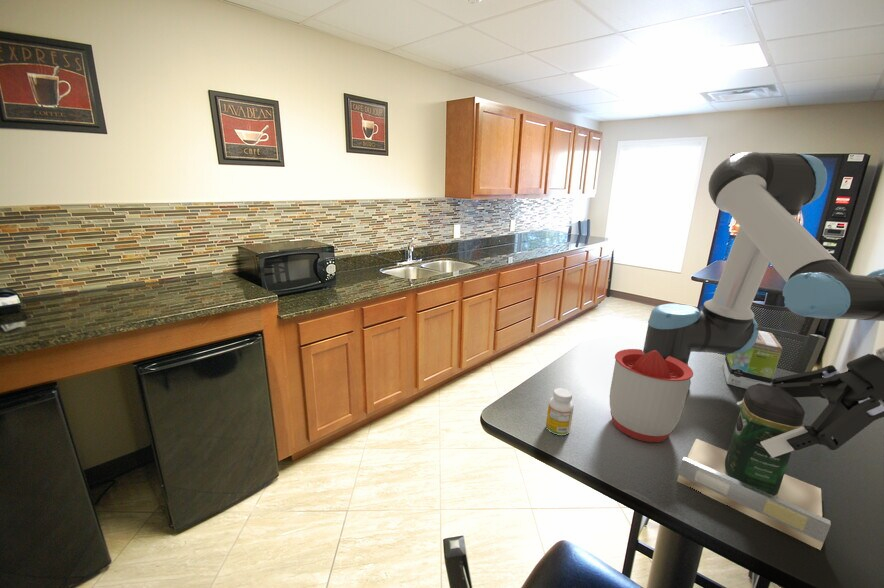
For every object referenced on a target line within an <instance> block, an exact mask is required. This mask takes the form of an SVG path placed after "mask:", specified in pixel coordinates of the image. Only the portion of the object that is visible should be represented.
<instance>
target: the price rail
mask: <svg viewBox="0 0 884 588" xmlns="http://www.w3.org/2000/svg"><path fill="white" fill-rule="evenodd" d="M679 475H680V476H682V477H684V478H686V479H689V480H691V481H693V482H695V483H697V484H699V485H701V486H703V487H706V488H708V489H710V490H712V491H714V492H716V493H718V494H720V495H723V496H725V497H727V498H729V499H731V500H733V501H735V502H738V503H740V504H742V505H744V506H746V507H748V508H750V509H752V510H755V511H757V512H759V513H761V514H763V515H765V516H767V517H769V518H772V519H774V520H776V521H778V522H780V523H782V524H784V525H787V526H789V527H791V528H793V529H795V530H797V531H799V532H801V533H804V534H806V535H808V536H810V537H812V538H814V539H816V540H818V541H821V542H823V544H824V543H825V540H826V538H827V536H828V533H829V531H830V528H831V526H832V525H831V520H830V519H828V518H825V517H823V516H822V517H821V516H819V515H816V514H814V513H812V512H810V511H807V510H805V509H803V508H800V507H798V506H796V505H794V504H791V503H789V502H787V501H784V500H782V499H780V498H778V497H775V496H773V495H771V494H768V493H766V492H764V491H762V490H759V489H757V488H755V487H752V486H750V485H748V484H746V483H743V482H741V481H739V480H736V479H734V478H732V477H730V476H727V475H725V474H723V473H720V472H718V471H716V470H714V469H711V468H709V467H707V466H704V465H702V464H700V463H698V462H695V461H693V460H691V459H688V458H687V457H686V456H683V458H682V460H681V464H680V468H679V473H678V476H679Z"/></svg>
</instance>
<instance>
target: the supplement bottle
mask: <svg viewBox="0 0 884 588" xmlns="http://www.w3.org/2000/svg"><path fill="white" fill-rule="evenodd" d="M572 399H573V393H572V391H570V389H569V390H568V389H567V388H562V387H559V388H558V387H557V388H555V389H554V390H553V394H552V397H550V399H549V401H548V407H547V416H546V421H545V422H546V423H545V428H546V427H547V428H546V430H547V429H548V430H550V431H551V432H553V433H555V434H558V435H566V434H568V433H569V434H570V432H571V425H572V419H573V414H574V413H573V412H574V402H573V401H572ZM548 430H547V431H548ZM569 434H568V435H569ZM566 436H567V435H566Z"/></svg>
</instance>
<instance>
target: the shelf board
mask: <svg viewBox="0 0 884 588" xmlns="http://www.w3.org/2000/svg"><path fill="white" fill-rule="evenodd" d="M692 444H693V445H692V446H691V448H690V451H689V452H688V455H687V457H686V458H688V459H691V460H693V461H695V462H698V463H700V464H702V465H704V466H707V467H709V468H711V469H714V470H716V471H718V472H720V473H723V474H725V475H727V476H728V474H727V471H726V468H725V458H726V455H727V452H728V450H725V449H723V448H721V447H718V446H716V445H713V444H710V443H709V442H706V441H703V440H701V439H699V438H695V441H694V442H693V443H692ZM676 482H678V483H679V484H682V485H684V486H686V487H688V488H690V487H691V489H692V488H693V489H692V490H694V489H695V491H696V490H697V491H696V492H698V491H699V492H698V493H700V492H701V494H703V495H705V496H707V497H709V498H711V499H712V500H715V501H717V502H719V503H721V504H724V505H726V506H727V505H728V507H729V506H730V507H729V508H732V509H733V510H736V511H738V512H740V513H741V514H744V515H746V516H748V517H750V518H753V519H755V520H756V521H759V522H761V523H763V524H764V525H767V526H769V527H771V528H774V529H775V530H778V531H780V532H781V533H784V534H786V535H788V536H790V537H791V538H795V539H796V540H798V541H800V542H803V543H805V544H807V545H808V546H811V547H813V548H815V549H818V550H819V551H822V550H821V549H822V547H823V545H824V543H823V542H821V541H818V540H816V539H814V538H812V537H810V536H808V535H806V534H804V533H801V532H799V531H797V530H795V529H793V528H791V527H789V526H787V525H784V524H782V523H780V522H778V521H776V520H774V519H772V518H769V517H767V516H765V515H763V514H761V513H759V512H757V511H755V510H752V509H750V508H748V507H746V506H744V505H742V504H740V503H738V502H735V501H733V500H731V499H729V498H727V497H725V496H723V495H720V494H718V493H716V492H714V491H712V490H710V489H708V488H706V487H703V486H701V485H699V484H697V483H695V482H693V481H691V480H689V479H686V478H684V477H682V476H680V475H679V474H678V476H677V480H676ZM775 497H778V498H780V499H782V500H784V501H787V502H789V503H791V504H794V505H796V506H798V507H800V508H803V509H805V510H807V511H810V512H812V513H814V514H816V515H819V516H821V517H823V502H822V501H823V499H822V488H821V487H818V486H815V485H813V484H810V483H808V482H805V481H803V480H800V479H798V478H796V477H793V476H790V475H788V474H786V473H784V476H783V480H782V483H781V486H780V489H779V491H778V494H777V495H775Z"/></svg>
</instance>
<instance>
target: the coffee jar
mask: <svg viewBox="0 0 884 588" xmlns="http://www.w3.org/2000/svg"><path fill="white" fill-rule="evenodd" d="M742 400H743V401H742ZM742 400H741V401H742V406H741V408H740V411H739V415H738V417H737V421H736V423H735V427H734V430H733V434H732V437H731V439H730V440H731V441H730V443H729V446H728V449H727V451H728V452H727V455H726V458H725V468H726V471H727V474H728V476H730V477H732V478H734V479H736V480H739V481H741V482H743V483H746V484H748V485H750V486H752V487H755V488H757V489H759V490H762V491H764V492H766V493H768V494H771V495H773V496H775V495H777V494H778V491H779V489H780V486H781V483H782V480H783V476H784V474H786V473H785V472H786V471H787V470H786V469H787V466H788V463H789V460H790V458H791V455H792V452H793V451H791V452H788V453H785V454H782V455H779V456H776V457H773V458H772V457H771V455H770V454H769V453H768V452H767V451H766V449H765V448H764V447H763V446H762V445H761V443H760V442H761V441H764V440H767V439H770V438H772V437H775V436H778V435H780V434H783V433H786V432H788V431H791V430H794V429H797V428H799V427H802V426H803V422H804V418H805V414H806V411H805V410H804V408H803V405H802V404H801V403H800V402H799V401H798V399H797V398H796V397H793V396H792V395H790V394H789V393H787V392H786V391H785V390H784V389H782V388H778V387H774V386H771V385H770V386H769V385H765V384H760V383H758V384H755V385H752V386H749V387H748V388H747V389H745V392H744V394H743V398H742Z"/></svg>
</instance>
